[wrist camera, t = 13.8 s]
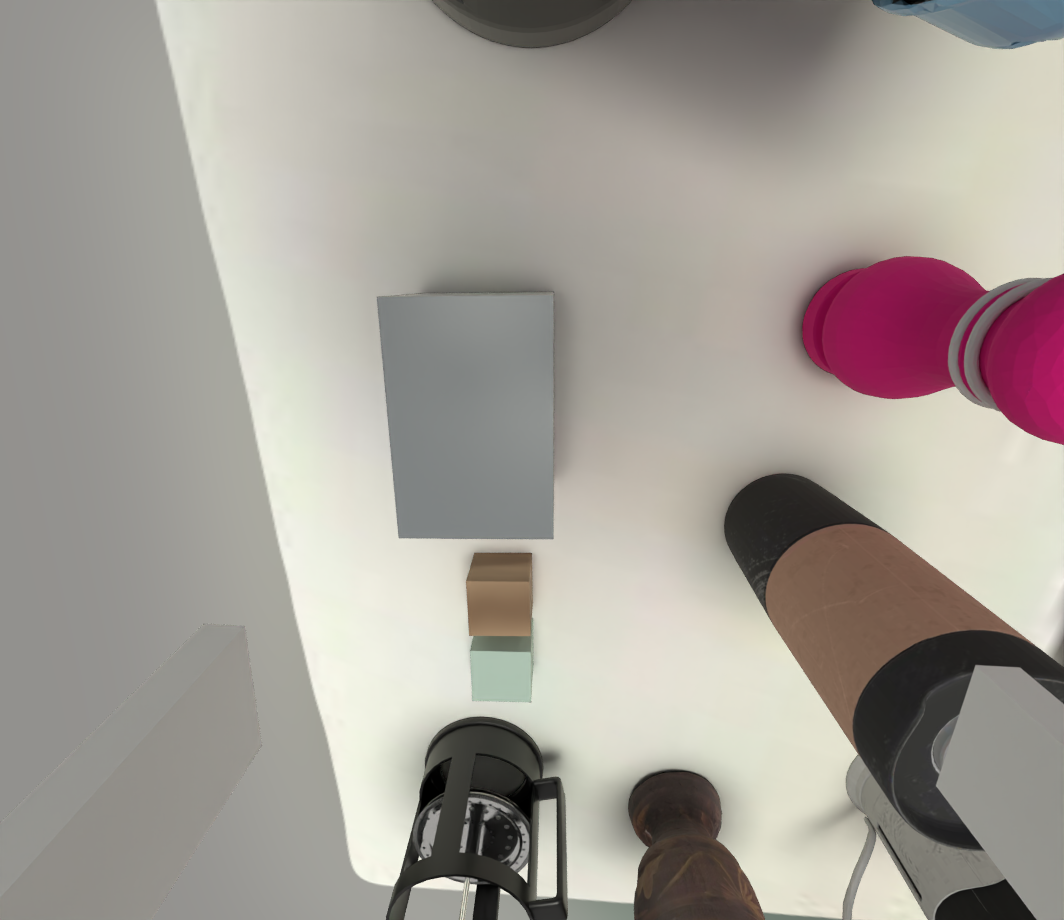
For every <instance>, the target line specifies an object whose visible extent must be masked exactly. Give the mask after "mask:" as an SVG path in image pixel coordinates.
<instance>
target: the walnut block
mask: <svg viewBox="0 0 1064 920" xmlns="http://www.w3.org/2000/svg"><path fill="white" fill-rule="evenodd" d="M466 588H467V605H468V622H469V636H530V635H531V621H532V606H533V595H532V553H474V556H473V560H472V563H471V567H470V570H469V573H468V577H467V580H466Z"/></svg>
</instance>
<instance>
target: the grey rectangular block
mask: <svg viewBox="0 0 1064 920" xmlns="http://www.w3.org/2000/svg"><path fill="white" fill-rule="evenodd" d="M377 304H378V315H379V326H380V337H381V348H382V359H383V370H384V381H385V392H386V403H387V414H388V425H389V436H390V447H391V458H392V469H393V480H394V491H395V502H396V513H397V524H398V535H399V538H441V539H553V521H554V292H489V293H418V294H406V295H394V296H382V297H377Z"/></svg>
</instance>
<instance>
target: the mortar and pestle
mask: <svg viewBox="0 0 1064 920" xmlns="http://www.w3.org/2000/svg"><path fill="white" fill-rule="evenodd" d="M628 811H629V816H630V819H631V822H632V825H633V828H634V830H635V832H636V834H637V836H638V837H639V838H640V840H641V841H642V842H643V843H644V844H645V845H646V846H648V847H649V849H648V850H647V851H646V853H645V854H644V856H643V857H642V860H641V862H640V864H639V868H638V880H637V888H636V891H635V899H634V919H635V920H765V918H764V916H763V912H762V909H761V907H760V904H759V902H758V899H757V897H756V895H755V892H754V890H753V888H752V886H751V884H750V882H749V880H748V878H747V876H746V875H745V874H744V872H743V871H742V869H741V868H740V866H739V863H738V862H737V860H736V859H735V857H734V856H733V855H732V854H731V853H730V852H729V850H728V849H727V848H726V847H725V846H724V845H722V844H721V843H720V842H718V841H717V840H716V838H717V836H718V833H719V831H720V828H721V814H722V812H721V805H720V799H719V796H718V794H717V792H716V790H715V789H714V787H713V786H712V785H711V784H710V783H709V782H708V780H705V779H704V778H703V777H701V776H698V775H695V774H692V773H688V772H667V773H662V774H658V775H656V776H653V777H651V778H649V779H647V780H646V781H645V782H643V783H642V784H641V785H640V786H638V787H637V788H636V789H635V790H634V792H633V793H632V795H631V797H630V799H629V804H628Z"/></svg>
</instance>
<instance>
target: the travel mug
mask: <svg viewBox="0 0 1064 920" xmlns="http://www.w3.org/2000/svg"><path fill="white" fill-rule="evenodd" d="M725 537H726V541H727V543H728V546H729V548H730V550H731V552H732V554H733V556H734V557H735V559H736V561H737V563H738V565H739V566H740V568H741V570H742V571H743V573H744V575H745V577H746V578H747V580H748V582H749V584H750V585H751V587H752V589H753V591H754V592H755V594H756V596H757V598H758V599H759V601H760V603H761V604H762V606H763V608H764V610H765V611H766V613H767V615H768V617H769V618H770V620H771V622H772V623H773V625H774V627H775V628H776V630H777V631H778V633H779V634H780V636H781V637H782V639H783V640H784V642H785V644H786V645H787V647H788V648H789V650H790V651H791V653H792V654H793V656H794V657H795V659H796V660H797V662H798V663H799V665H800V666H801V668H802V669H803V671H804V672H805V674H806V675H807V677H808V678H809V680H810V681H811V683H812V685H813V686H814V688H815V689H816V691H817V692H818V694H819V695H820V697H821V698H822V700H823V701H824V703H825V704H826V706H827V707H828V709H829V710H830V712H831V713H832V715H833V716H834V718H835V719H836V721H837V722H838V724H839V726H840V727H841V729H842V730H843V732H844V733H845V735H846V736H847V738H848V739H849V741H850V742H851V744H852V745H853V747H854V748H855V750H856V751H857V753H858V754H859V756H860V757H861V759H862V760H863V762H864V764H865V765H866V767H867V768H868V770H869V771H870V773H871V774H872V776H873V777H874V779H875V780H876V782H877V783H878V785H879V786H880V788H881V789H882V791H883V792H884V794H885V795H886V797H887V798H888V800H889V802H890V803H891V804H892V806H893V807H894V808H895V810H896V811H897V812H898V814H899V815H900V816H901V818H902V819H903V820H904V821H905V822H906V823H907V824H908V825H909V826H910V827H912V828H913V829H914V830H915V831H917V832H918V833H920V834H921V835H923V836H924V837H926V838H928V839H930V840H932V841H934V842H936V843H939V844H941V845H944V846H947V847H951V848H956V849H960V850H968V851H984V852H985V850H984V849H983V848H982V846H981V845H980V844H979V842H978V841H977V840H976V838H975V837H974V836H973V834H972V833H971V832H970V830H969V829H968V828H967V826H966V825H965V824H964V822H963V821H962V820H961V818H960V817H959V816H958V814H957V813H956V812H955V810H954V809H953V808H952V806H951V805H950V804H949V802H948V801H947V800H946V799H945V797H944V796H943V795H942V793H941V792H940V791H939V789H938V788H937V787H936V784H937V781H938V778H939V775H940V772H941V769H942V766H943V763H944V759H945V756H946V753H947V750H948V747H949V744H950V741H951V738H952V735H953V732H954V729H955V726H956V723H957V720H958V717H959V714H960V711H961V708H962V705H963V702H964V699H965V696H966V693H967V690H968V687H969V684H970V681H971V678H972V674H973V671H974V668H975V665H983V666H1001V667H1020V668H1021V669H1022V670H1023V671H1025V672H1026V673H1027V674H1028V675H1029V676H1031V677H1032V678H1033V679H1034V680H1035V681H1037V682H1038V683H1039V684H1040V685H1041V686H1043V687H1044V688H1045V689H1046V690H1047V691H1049V692H1050V693H1051V694H1052V695H1053V696H1055V697H1056V698H1057V699H1058V700H1059V701H1061V702H1062V703H1063V704H1064V667H1063V666H1061V665H1060V664H1059V663H1057V662H1056V661H1055V660H1053V659H1052V658H1051V657H1050V656H1048V655H1047V654H1046V653H1044V652H1043V651H1042V650H1041V649H1039V648H1038V647H1037V646H1035V645H1034V644H1033V643H1031V642H1030V641H1029V640H1028V639H1026V638H1025V637H1024V636H1022V635H1021V634H1020V633H1018V632H1017V631H1016V630H1015V629H1013V628H1012V627H1011V626H1009V625H1008V624H1007V623H1005V622H1004V621H1003V620H1002V619H1000V618H999V617H998V616H996V615H995V614H994V613H992V612H991V611H990V610H989V609H987V608H986V607H985V606H983V605H982V604H981V603H980V602H978V601H977V600H976V599H974V598H973V597H972V596H970V595H969V594H968V593H967V592H965V591H964V590H963V589H961V588H960V587H959V586H957V585H956V584H955V583H954V582H952V581H951V580H950V579H948V578H947V577H946V576H945V575H943V574H942V573H941V572H939V571H938V570H937V569H935V568H934V567H933V566H932V565H930V564H929V563H928V562H926V561H925V560H924V559H922V558H921V557H920V556H919V555H917V554H916V553H915V552H913V551H912V550H911V549H910V548H908V547H907V546H906V545H904V544H903V543H902V542H900V541H899V540H898V539H897V538H895V537H894V536H892V535H891V534H890V533H888V532H887V531H885V530H884V529H882V528H881V527H880V526H878V525H877V524H875V523H874V522H872V521H871V520H869V519H868V518H866V517H865V516H863V515H862V514H860V513H859V512H858V511H856V510H855V509H853V508H852V507H850V506H849V505H847V504H846V503H844V502H843V501H841V500H840V499H838V498H837V497H836V496H834V495H833V494H831V493H830V492H828V491H827V490H825V489H824V488H822V487H821V486H819V485H817V484H816V483H814V482H812V481H810V480H809V479H806V478H804V477H801V476H797V475H791V474H777V475H771V476H767V477H764V478H761V479H758V480H756V481H755V482H753V483H751V484H750V485H748V486H747V487H745V488H744V489H743V490H742V491H741V492H740V493H739V494H738V495H737V496H736V497H735V499H734V500H733V501H732V503H731V505H730V507H729V509H728V512H727V514H726V518H725Z"/></svg>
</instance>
